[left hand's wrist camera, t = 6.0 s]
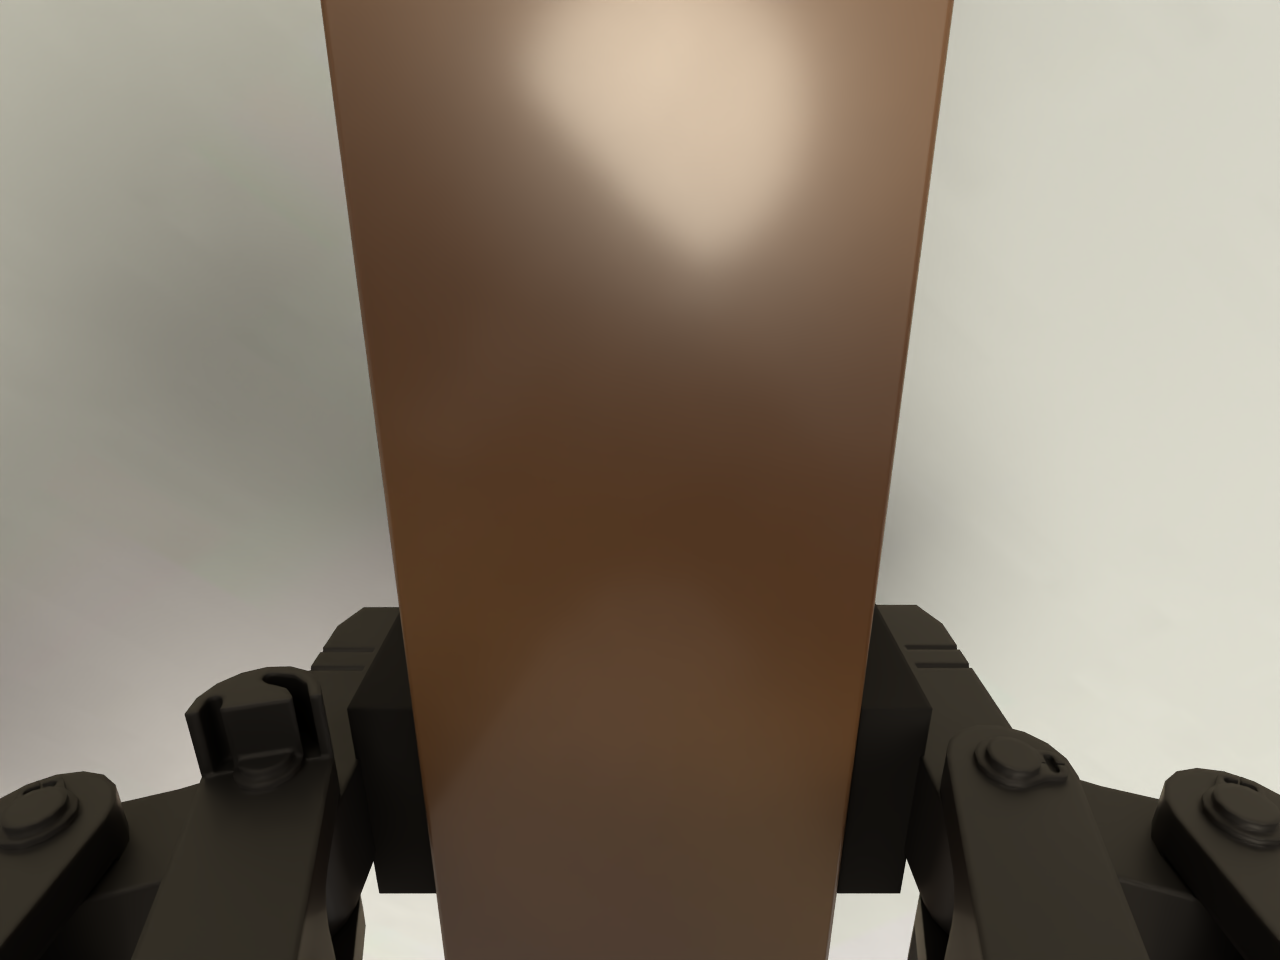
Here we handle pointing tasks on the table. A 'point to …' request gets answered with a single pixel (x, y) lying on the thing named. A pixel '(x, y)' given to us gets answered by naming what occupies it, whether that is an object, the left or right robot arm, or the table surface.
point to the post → (636, 440)
